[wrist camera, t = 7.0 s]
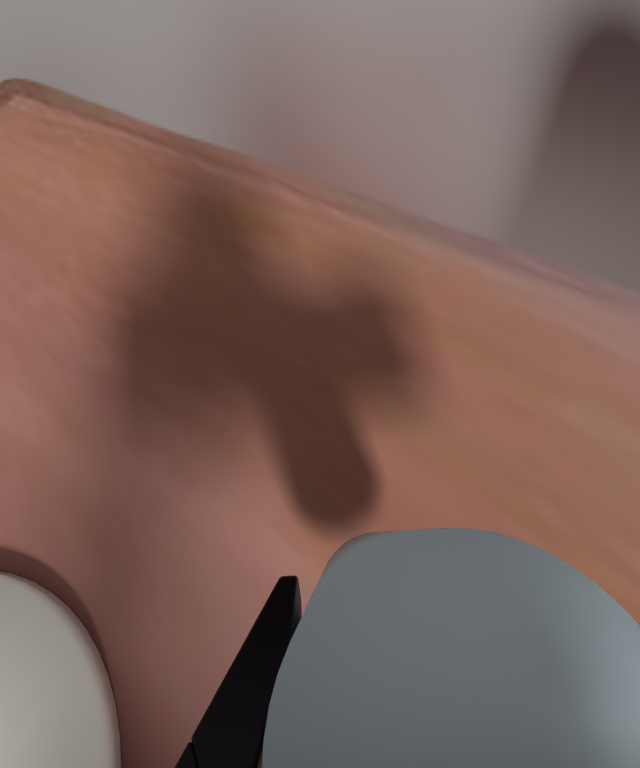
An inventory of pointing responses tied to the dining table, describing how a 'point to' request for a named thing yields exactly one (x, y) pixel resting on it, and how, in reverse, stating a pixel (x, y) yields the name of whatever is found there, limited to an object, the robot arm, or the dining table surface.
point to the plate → (51, 685)
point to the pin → (456, 661)
